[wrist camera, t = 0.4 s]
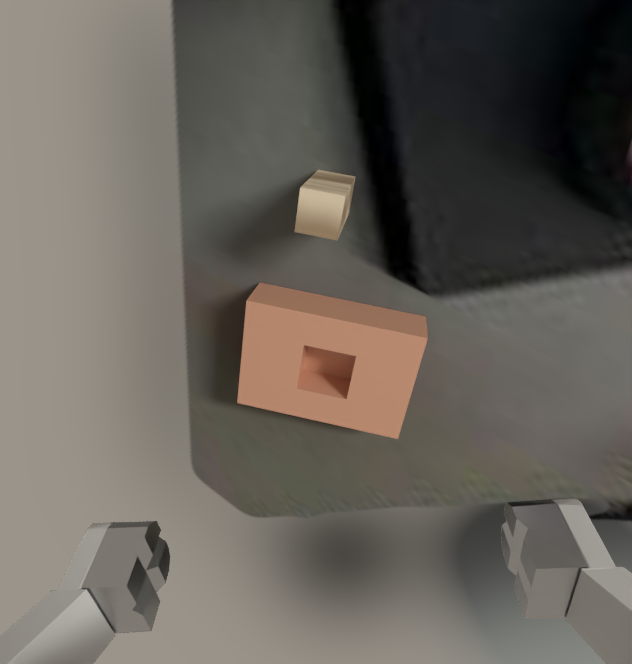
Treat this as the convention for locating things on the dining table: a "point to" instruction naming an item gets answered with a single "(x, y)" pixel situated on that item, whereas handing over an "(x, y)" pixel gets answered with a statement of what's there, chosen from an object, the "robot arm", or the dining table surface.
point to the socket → (329, 359)
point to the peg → (324, 204)
